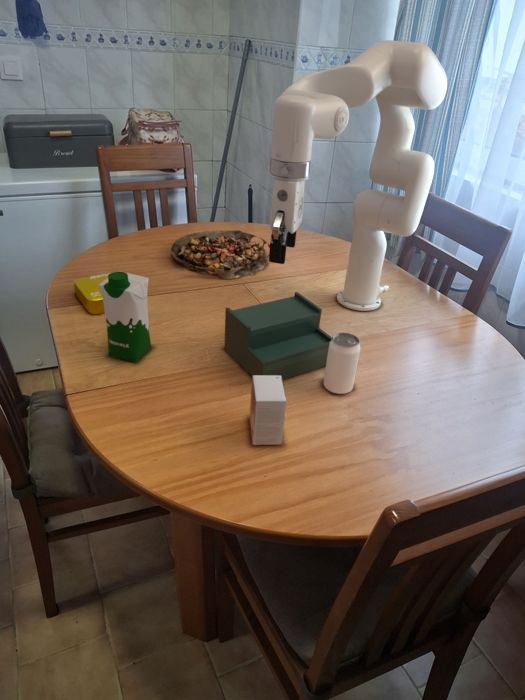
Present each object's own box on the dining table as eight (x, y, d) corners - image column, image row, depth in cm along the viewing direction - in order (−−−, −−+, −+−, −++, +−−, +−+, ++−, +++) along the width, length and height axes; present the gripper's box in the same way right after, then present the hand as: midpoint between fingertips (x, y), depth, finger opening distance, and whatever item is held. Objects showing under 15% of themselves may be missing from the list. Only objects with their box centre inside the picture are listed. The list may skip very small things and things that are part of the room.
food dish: (271, 285, 156) (272, 261, 151) (162, 280, 155) (160, 256, 151) (271, 241, 184) (272, 220, 180) (179, 236, 184) (178, 215, 180)
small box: (249, 417, 101) (251, 374, 95) (277, 417, 101) (281, 374, 96) (251, 445, 94) (255, 400, 88) (281, 445, 95) (286, 400, 89)
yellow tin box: (126, 282, 149) (124, 267, 146) (146, 304, 138) (145, 288, 136) (73, 293, 141) (71, 277, 139) (90, 316, 131) (88, 299, 128)
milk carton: (103, 356, 116) (92, 275, 105) (124, 338, 123) (117, 260, 112) (137, 365, 113) (130, 283, 103) (157, 346, 121) (152, 267, 110)
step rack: (334, 363, 119) (341, 322, 113) (261, 386, 110) (265, 343, 104) (293, 330, 131) (297, 291, 125) (224, 348, 122) (225, 307, 116)
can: (351, 397, 108) (361, 349, 102) (321, 392, 109) (328, 344, 103) (353, 380, 114) (362, 334, 107) (324, 375, 115) (331, 329, 108)
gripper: (300, 181, 89) (291, 272, 98) (317, 162, 103) (307, 243, 112) (258, 176, 90) (253, 266, 99) (280, 157, 104) (274, 238, 113)
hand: (282, 254), depth 105 cm, fingers open, 9 cm apart
